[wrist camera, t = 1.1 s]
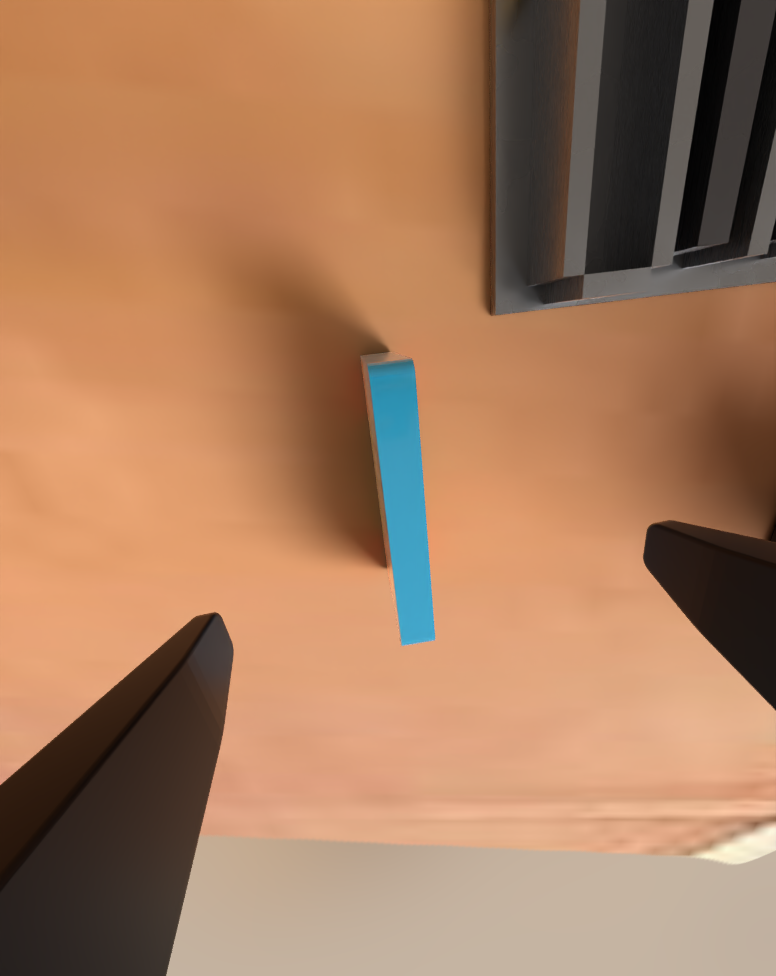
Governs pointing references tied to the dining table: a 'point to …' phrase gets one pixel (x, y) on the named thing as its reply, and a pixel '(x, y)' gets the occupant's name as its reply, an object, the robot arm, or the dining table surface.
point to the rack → (630, 149)
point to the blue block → (400, 489)
